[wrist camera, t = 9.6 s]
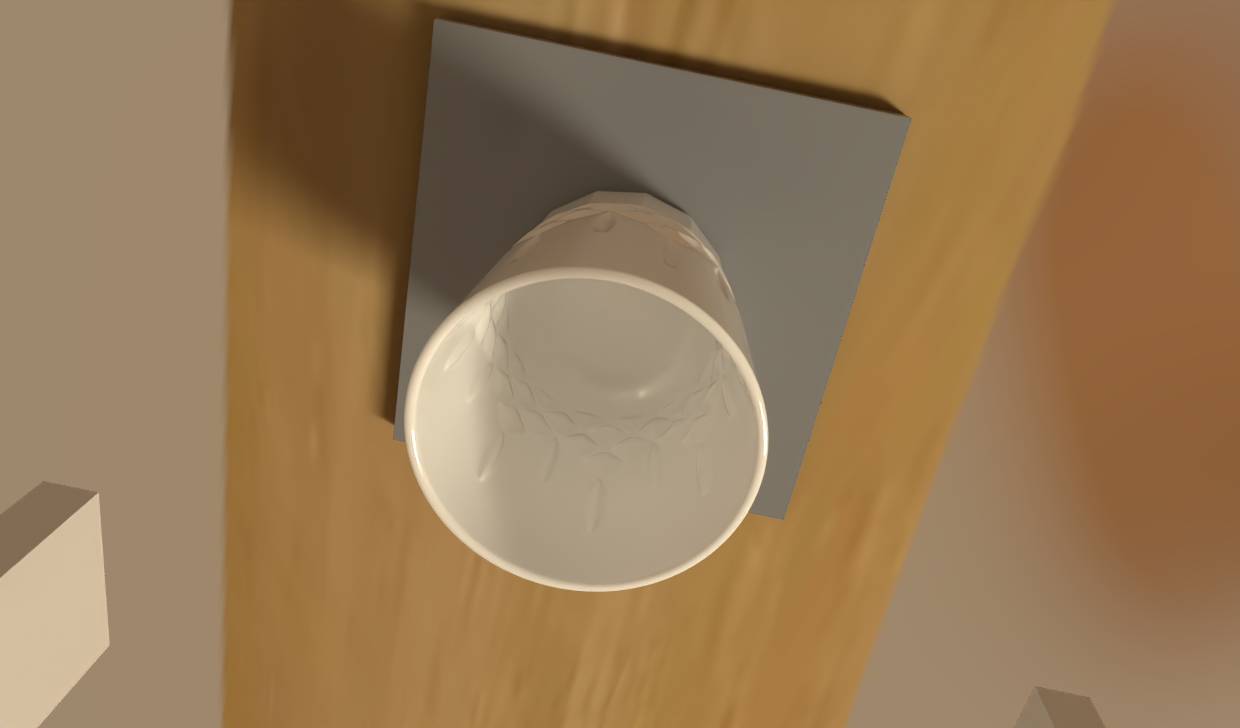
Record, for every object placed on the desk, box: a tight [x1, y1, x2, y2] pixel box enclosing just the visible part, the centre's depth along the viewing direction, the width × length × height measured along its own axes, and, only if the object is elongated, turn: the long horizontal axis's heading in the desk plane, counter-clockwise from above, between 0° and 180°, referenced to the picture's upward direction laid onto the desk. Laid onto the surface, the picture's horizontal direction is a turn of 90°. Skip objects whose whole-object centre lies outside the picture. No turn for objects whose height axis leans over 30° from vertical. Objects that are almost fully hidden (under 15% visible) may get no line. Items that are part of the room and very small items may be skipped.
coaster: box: [393, 18, 911, 520], centre depth 28 cm, size 14×14×1 cm
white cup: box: [404, 191, 768, 591], centre depth 23 cm, size 8×8×10 cm
